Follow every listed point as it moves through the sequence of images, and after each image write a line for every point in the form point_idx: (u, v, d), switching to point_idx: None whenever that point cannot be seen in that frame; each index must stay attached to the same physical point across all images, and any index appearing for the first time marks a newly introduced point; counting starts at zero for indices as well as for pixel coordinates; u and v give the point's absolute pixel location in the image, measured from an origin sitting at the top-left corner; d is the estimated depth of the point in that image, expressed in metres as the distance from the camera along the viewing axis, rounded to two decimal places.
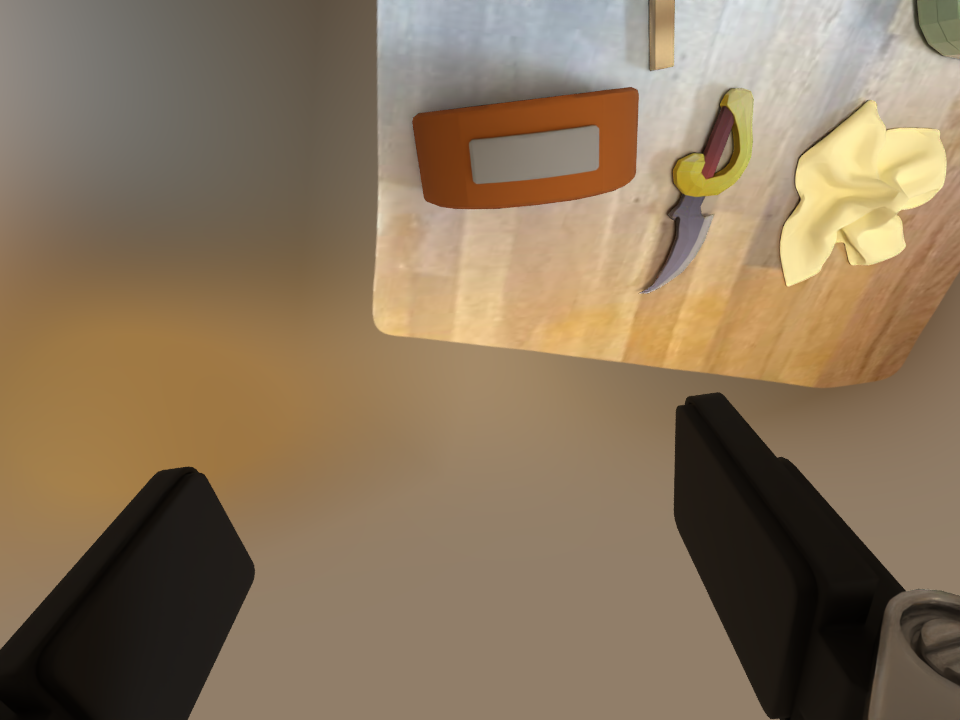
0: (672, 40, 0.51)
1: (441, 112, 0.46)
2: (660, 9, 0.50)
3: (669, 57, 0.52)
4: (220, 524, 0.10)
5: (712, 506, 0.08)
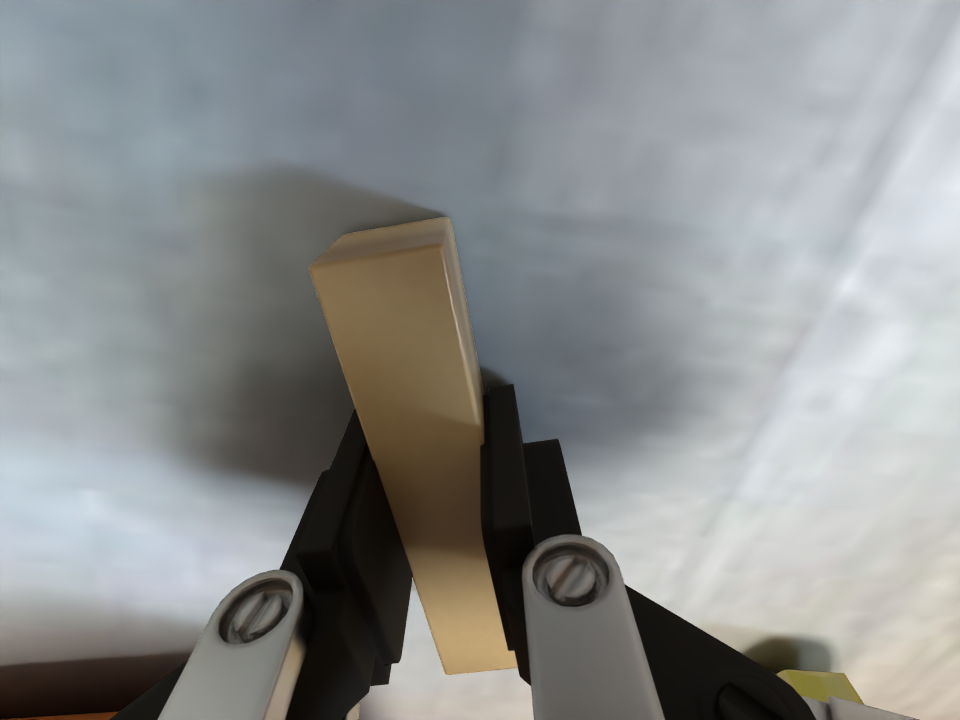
0: None
1: None
2: (416, 505, 0.09)
3: (503, 646, 0.11)
4: None
5: None
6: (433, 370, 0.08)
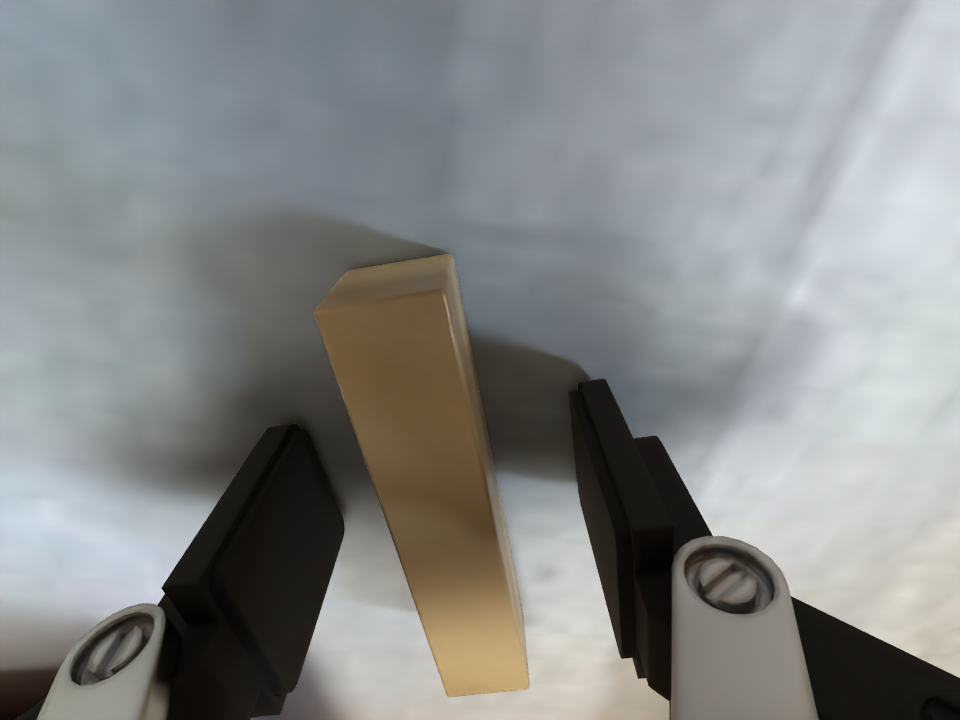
0: (507, 628, 0.10)
1: None
2: (419, 536, 0.09)
3: (504, 670, 0.11)
4: (320, 478, 0.10)
5: (587, 478, 0.09)
6: (436, 408, 0.08)
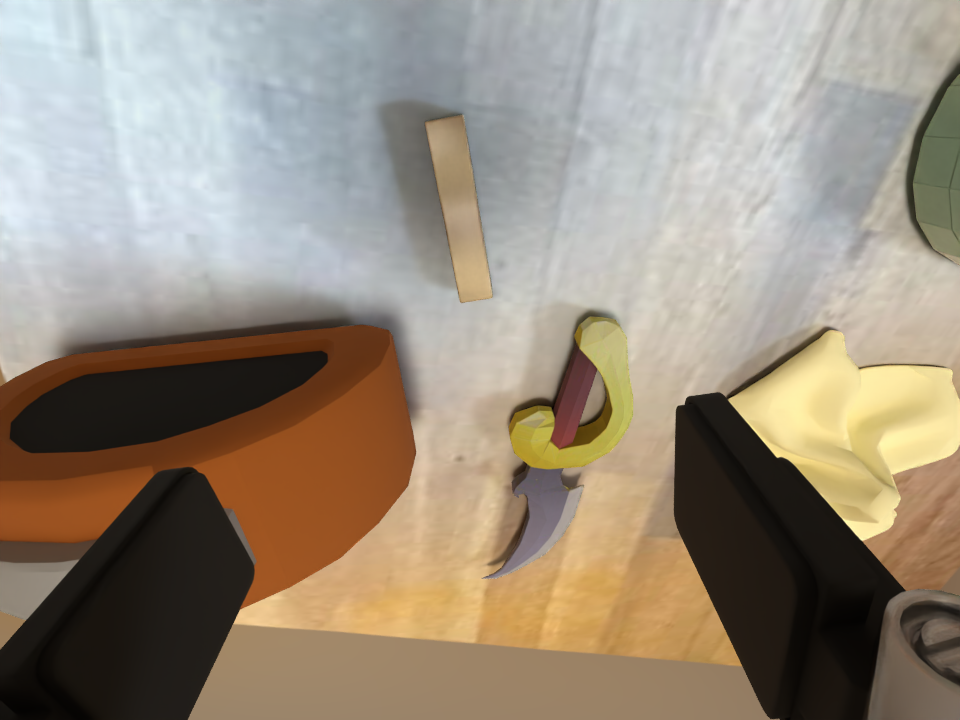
0: (483, 260, 0.28)
1: None
2: (452, 212, 0.27)
3: (482, 285, 0.29)
4: (220, 524, 0.10)
5: (712, 506, 0.08)
6: (459, 157, 0.26)
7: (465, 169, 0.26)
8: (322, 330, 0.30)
